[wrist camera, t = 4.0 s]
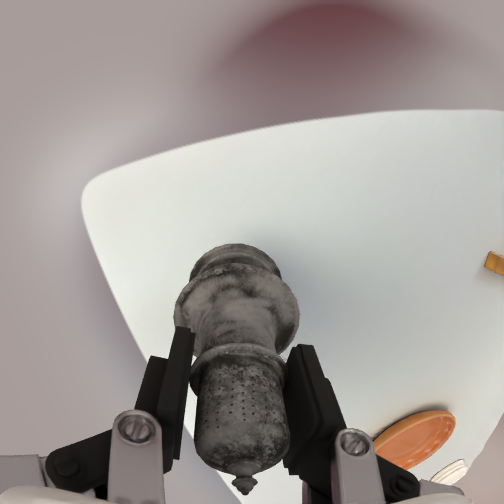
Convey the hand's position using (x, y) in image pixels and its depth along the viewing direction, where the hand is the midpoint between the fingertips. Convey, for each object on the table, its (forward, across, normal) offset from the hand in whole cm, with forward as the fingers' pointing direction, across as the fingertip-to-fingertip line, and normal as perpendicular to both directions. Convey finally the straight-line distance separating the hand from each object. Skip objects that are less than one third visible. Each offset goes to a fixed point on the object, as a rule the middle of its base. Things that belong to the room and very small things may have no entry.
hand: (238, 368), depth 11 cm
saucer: (+13, -31, +25) cm, 42 cm away
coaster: (+13, -60, +46) cm, 77 cm away
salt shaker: (+7, 0, 0) cm, 7 cm away
